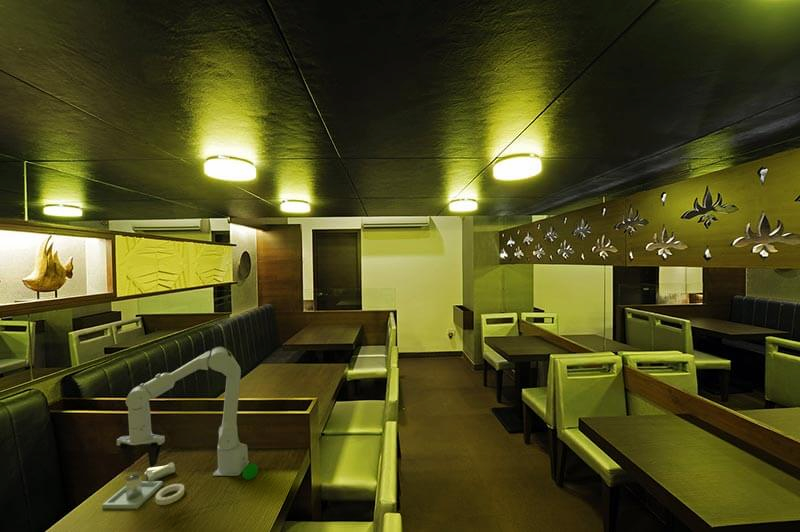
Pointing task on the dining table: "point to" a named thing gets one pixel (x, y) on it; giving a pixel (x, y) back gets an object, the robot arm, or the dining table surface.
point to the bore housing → (170, 499)
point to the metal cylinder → (133, 485)
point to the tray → (122, 503)
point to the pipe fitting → (159, 472)
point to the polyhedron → (250, 471)
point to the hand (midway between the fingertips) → (142, 465)
